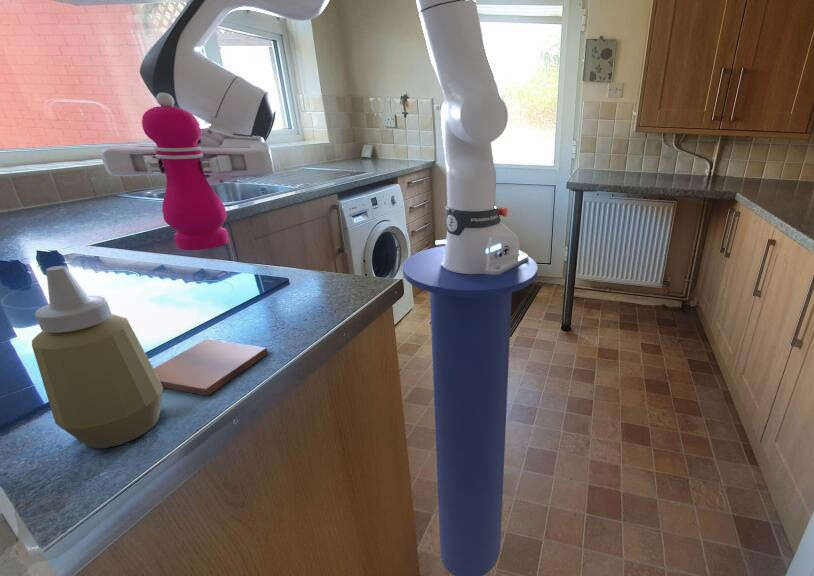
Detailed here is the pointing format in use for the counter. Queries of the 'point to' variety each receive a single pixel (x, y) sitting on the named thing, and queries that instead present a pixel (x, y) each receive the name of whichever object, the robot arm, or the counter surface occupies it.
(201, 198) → the pepper mill
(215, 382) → the walnut cutting board
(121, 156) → the robot arm
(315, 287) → the counter surface
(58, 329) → the squeeze bottle
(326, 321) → the counter surface
